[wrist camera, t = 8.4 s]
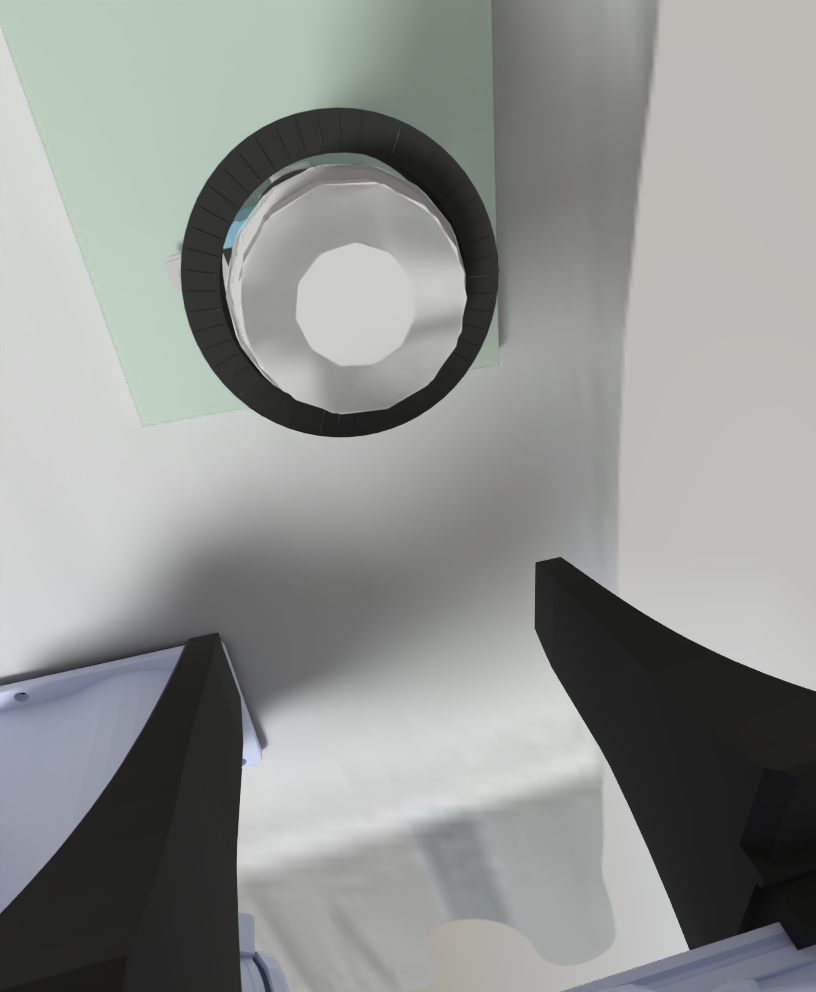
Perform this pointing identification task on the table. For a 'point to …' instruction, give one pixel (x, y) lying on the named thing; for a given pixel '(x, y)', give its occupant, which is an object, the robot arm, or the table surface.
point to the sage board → (224, 132)
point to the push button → (338, 273)
